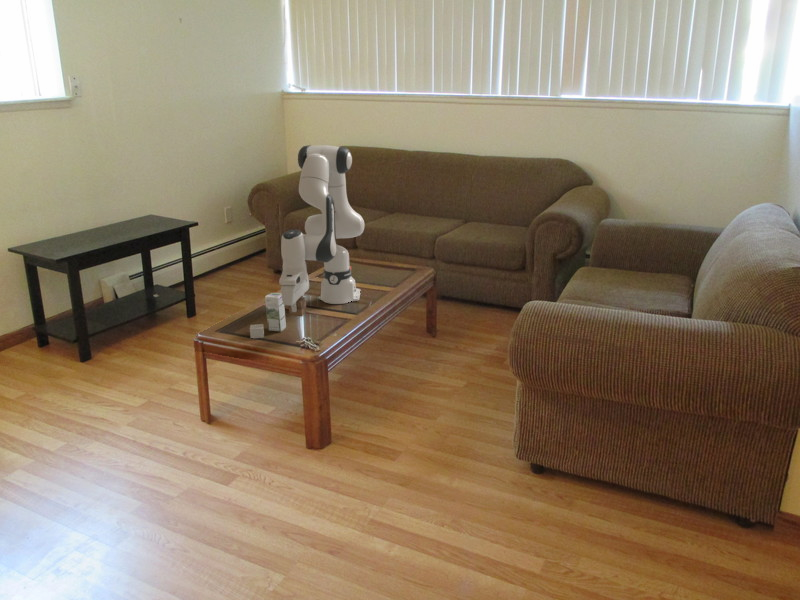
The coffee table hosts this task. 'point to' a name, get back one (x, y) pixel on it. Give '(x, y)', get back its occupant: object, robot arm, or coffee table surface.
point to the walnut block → (299, 307)
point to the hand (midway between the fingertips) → (297, 308)
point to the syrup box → (275, 312)
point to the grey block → (257, 331)
